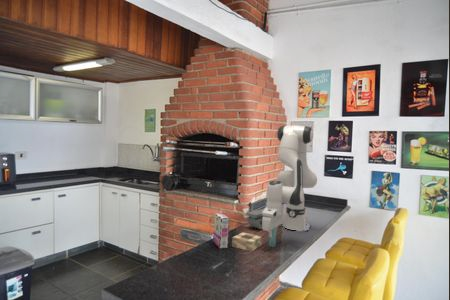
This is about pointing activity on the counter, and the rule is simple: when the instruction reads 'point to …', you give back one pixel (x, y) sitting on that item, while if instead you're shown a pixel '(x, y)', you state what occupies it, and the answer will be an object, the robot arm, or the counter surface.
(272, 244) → the peg
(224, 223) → the candy bar box
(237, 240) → the socket block
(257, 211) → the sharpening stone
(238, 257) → the counter surface
